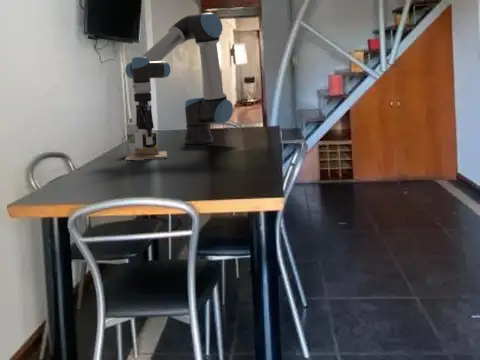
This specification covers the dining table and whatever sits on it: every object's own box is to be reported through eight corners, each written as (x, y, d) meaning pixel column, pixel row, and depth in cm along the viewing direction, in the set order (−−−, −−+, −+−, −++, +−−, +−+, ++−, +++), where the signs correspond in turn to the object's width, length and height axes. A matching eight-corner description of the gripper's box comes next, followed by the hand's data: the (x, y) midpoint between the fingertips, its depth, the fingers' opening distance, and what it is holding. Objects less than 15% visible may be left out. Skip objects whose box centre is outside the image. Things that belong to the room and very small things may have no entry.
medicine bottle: (143, 149, 271) (141, 122, 269) (135, 148, 277) (133, 121, 275) (157, 147, 275) (155, 121, 273) (149, 146, 281) (147, 120, 279)
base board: (127, 155, 285) (127, 146, 284) (166, 153, 287) (166, 144, 286) (125, 161, 267) (124, 151, 266) (167, 158, 269) (166, 149, 268)
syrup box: (145, 152, 291) (143, 122, 288) (137, 154, 286) (135, 123, 283) (135, 152, 294) (133, 122, 291) (128, 154, 289) (125, 123, 286)
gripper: (126, 92, 279) (130, 141, 283) (142, 93, 261) (146, 146, 265) (142, 91, 283) (145, 140, 287) (159, 92, 264) (162, 144, 268)
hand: (145, 143), depth 276 cm, fingers open, 9 cm apart
